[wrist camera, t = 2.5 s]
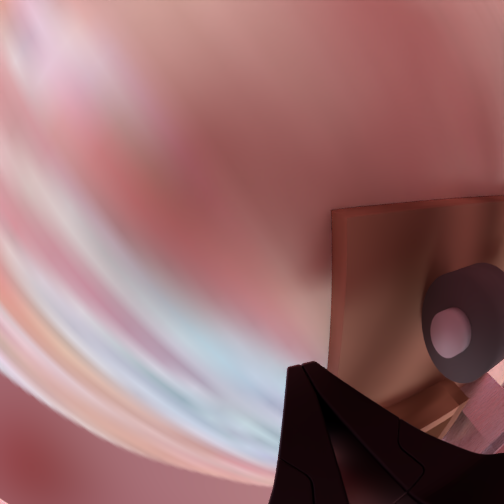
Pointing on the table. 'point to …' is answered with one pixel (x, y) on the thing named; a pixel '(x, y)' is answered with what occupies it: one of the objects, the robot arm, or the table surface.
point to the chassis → (403, 298)
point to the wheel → (465, 321)
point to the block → (480, 418)
